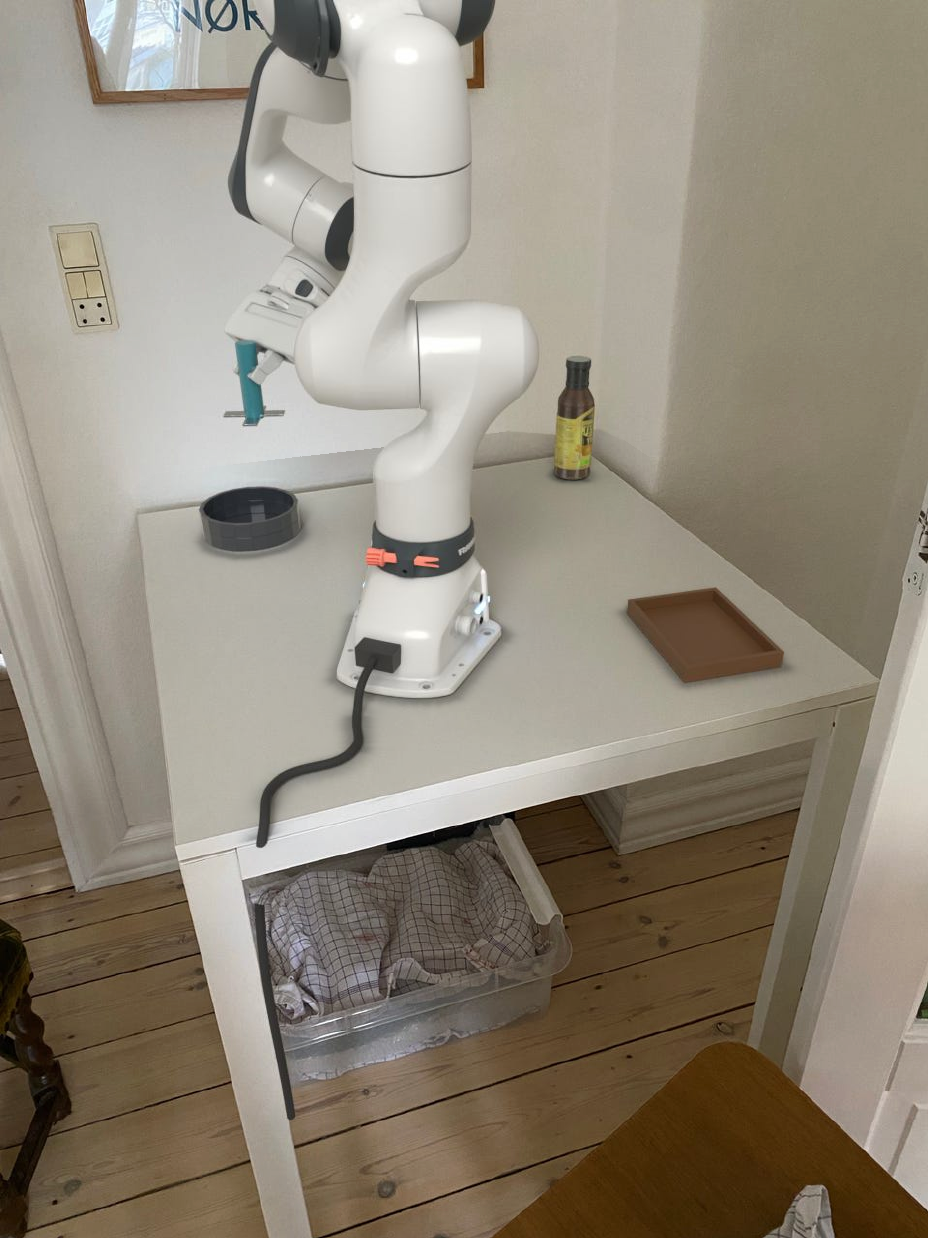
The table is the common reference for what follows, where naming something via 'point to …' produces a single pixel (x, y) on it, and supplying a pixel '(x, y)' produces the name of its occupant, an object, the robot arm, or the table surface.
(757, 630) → the tray
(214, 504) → the bowl
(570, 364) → the sauce bottle
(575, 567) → the table surface
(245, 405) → the teal rod with crossbar
